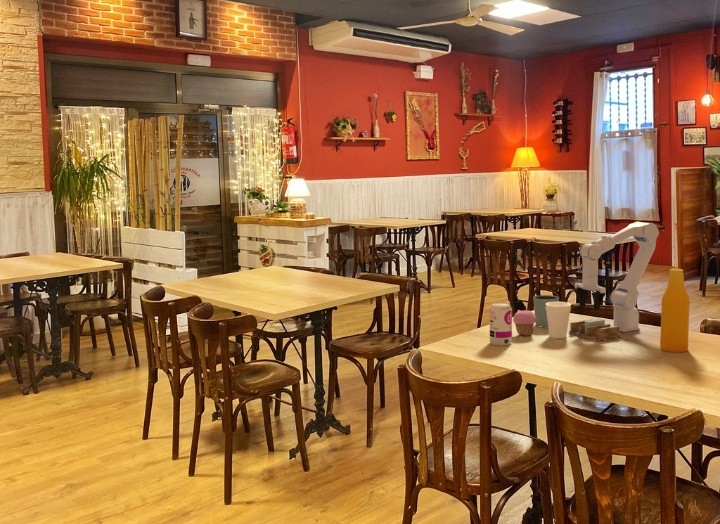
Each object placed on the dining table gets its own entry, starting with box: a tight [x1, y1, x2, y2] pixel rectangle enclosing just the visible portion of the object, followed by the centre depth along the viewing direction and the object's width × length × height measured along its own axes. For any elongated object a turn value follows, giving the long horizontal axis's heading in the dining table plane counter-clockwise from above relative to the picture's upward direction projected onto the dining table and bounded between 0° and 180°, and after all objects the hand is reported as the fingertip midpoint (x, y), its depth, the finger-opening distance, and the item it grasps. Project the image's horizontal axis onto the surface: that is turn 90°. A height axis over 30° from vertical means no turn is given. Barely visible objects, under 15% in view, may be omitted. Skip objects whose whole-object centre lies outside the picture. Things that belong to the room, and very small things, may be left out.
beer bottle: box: [659, 268, 691, 353], centre depth 257 cm, size 9×9×29 cm
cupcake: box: [512, 309, 536, 337], centre depth 285 cm, size 9×9×10 cm
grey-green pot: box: [532, 294, 559, 328], centre depth 301 cm, size 10×10×12 cm
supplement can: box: [489, 302, 513, 347], centre depth 273 cm, size 8×8×15 cm
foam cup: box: [546, 301, 572, 339], centre depth 281 cm, size 10×9×13 cm
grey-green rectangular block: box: [585, 318, 606, 334], centre depth 281 cm, size 8×2×5 cm, turn 116°
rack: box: [568, 319, 621, 342], centre depth 282 cm, size 12×15×4 cm
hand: (589, 308), depth 285 cm, fingers open, 7 cm apart
